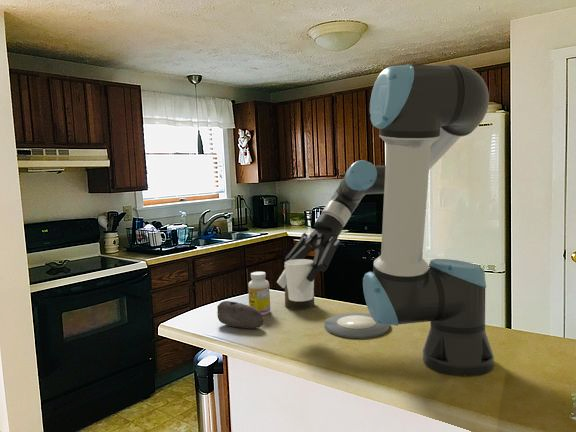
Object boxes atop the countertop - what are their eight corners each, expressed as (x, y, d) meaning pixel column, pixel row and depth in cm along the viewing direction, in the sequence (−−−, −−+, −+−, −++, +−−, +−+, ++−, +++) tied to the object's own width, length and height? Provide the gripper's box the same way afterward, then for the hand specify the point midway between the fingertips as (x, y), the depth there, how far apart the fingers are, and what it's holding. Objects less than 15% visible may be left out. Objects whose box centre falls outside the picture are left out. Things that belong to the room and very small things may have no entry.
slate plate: (392, 338, 125) (392, 332, 124) (323, 338, 127) (323, 332, 126) (386, 316, 142) (386, 311, 142) (326, 316, 144) (325, 311, 144)
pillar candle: (305, 311, 151) (304, 264, 149) (279, 307, 156) (277, 262, 154) (319, 303, 159) (318, 259, 157) (294, 300, 164) (293, 257, 163)
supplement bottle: (247, 311, 153) (245, 272, 152) (267, 308, 155) (265, 270, 154) (252, 317, 147) (250, 276, 145) (272, 314, 149) (271, 274, 147)
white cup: (281, 300, 127) (279, 263, 126) (294, 293, 134) (293, 258, 133) (307, 303, 123) (306, 265, 122) (320, 295, 130) (318, 259, 129)
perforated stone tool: (268, 327, 137) (267, 304, 136) (258, 333, 132) (256, 309, 132) (227, 320, 145) (226, 298, 144) (216, 326, 140) (214, 303, 139)
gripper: (366, 231, 128) (324, 302, 120) (315, 227, 144) (275, 289, 136) (351, 213, 124) (307, 285, 116) (301, 211, 140) (258, 274, 132)
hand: (289, 287), depth 126 cm, fingers closed on white cup, 8 cm apart
